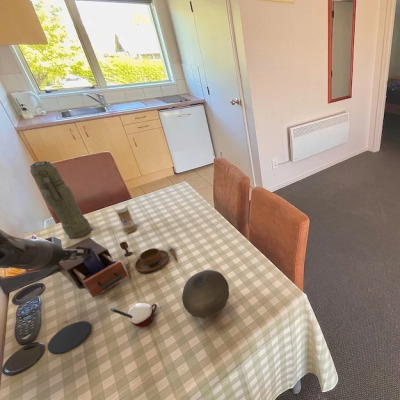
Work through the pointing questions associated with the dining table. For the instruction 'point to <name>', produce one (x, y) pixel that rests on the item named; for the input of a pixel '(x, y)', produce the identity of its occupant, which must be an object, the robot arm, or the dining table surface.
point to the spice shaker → (93, 263)
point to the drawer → (101, 275)
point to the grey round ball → (205, 294)
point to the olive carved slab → (60, 199)
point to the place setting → (148, 259)
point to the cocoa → (139, 314)
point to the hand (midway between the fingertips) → (74, 258)
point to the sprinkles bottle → (125, 218)
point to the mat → (69, 337)
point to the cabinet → (71, 265)
